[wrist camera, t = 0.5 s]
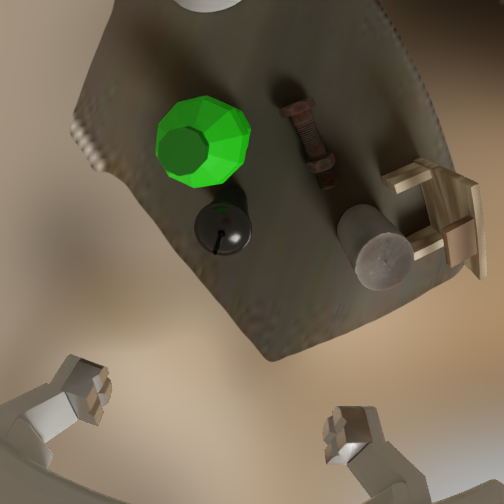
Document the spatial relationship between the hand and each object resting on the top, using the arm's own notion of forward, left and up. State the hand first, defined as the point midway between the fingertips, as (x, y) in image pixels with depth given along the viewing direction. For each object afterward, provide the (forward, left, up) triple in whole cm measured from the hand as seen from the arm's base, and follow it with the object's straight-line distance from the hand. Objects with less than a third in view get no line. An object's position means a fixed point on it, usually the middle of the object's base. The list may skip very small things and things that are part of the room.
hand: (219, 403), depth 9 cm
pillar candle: (+13, +18, -44) cm, 49 cm away
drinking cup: (+6, -5, -44) cm, 44 cm away
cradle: (+9, +28, -44) cm, 53 cm away
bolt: (-3, +9, -44) cm, 45 cm away
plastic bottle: (-6, -5, -44) cm, 44 cm away
